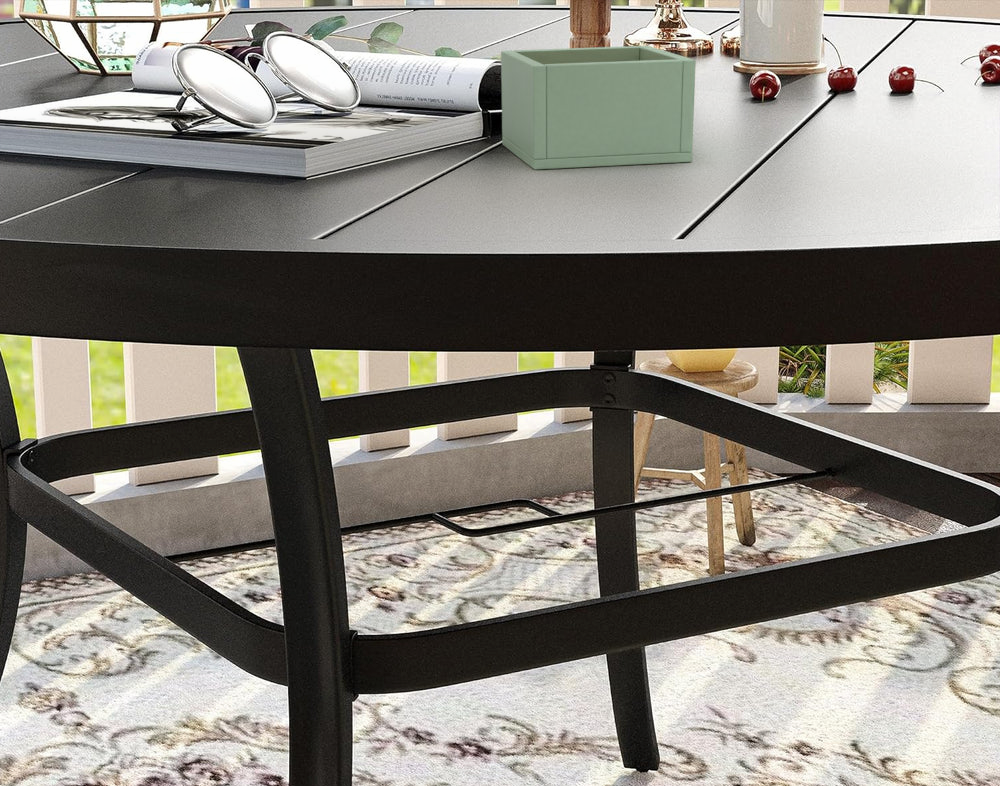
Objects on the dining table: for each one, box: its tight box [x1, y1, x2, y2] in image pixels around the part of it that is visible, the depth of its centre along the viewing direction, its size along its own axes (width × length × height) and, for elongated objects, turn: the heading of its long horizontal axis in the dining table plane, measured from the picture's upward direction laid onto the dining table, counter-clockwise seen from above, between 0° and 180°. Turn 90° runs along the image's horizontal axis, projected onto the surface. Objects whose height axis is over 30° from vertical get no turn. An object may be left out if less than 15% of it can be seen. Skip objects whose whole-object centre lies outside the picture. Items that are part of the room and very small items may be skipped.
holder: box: [500, 45, 697, 171], centre depth 90 cm, size 10×10×6 cm
